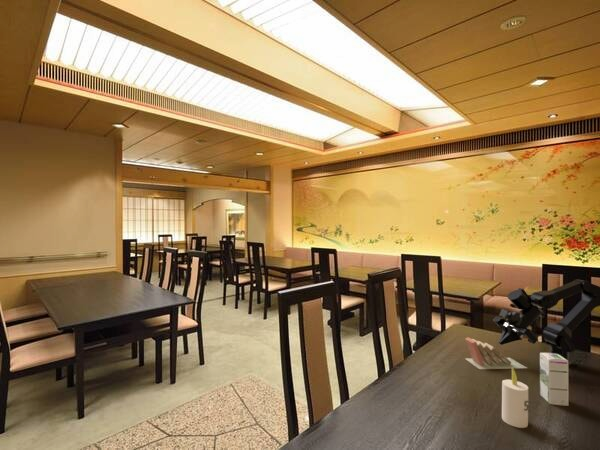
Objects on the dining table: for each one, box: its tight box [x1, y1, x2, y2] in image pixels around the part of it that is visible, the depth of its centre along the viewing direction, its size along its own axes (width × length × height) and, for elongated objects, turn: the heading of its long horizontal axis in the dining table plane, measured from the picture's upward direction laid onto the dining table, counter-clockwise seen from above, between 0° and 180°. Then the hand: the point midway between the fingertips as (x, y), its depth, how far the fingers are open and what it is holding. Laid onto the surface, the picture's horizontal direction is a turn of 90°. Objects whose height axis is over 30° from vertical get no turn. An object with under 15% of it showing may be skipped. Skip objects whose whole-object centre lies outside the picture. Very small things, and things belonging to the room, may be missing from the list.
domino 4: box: [484, 342, 512, 365], centre depth 131 cm, size 2×5×10 cm
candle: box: [501, 368, 530, 429], centre depth 93 cm, size 6×6×15 cm
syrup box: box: [539, 352, 569, 407], centre depth 104 cm, size 6×6×14 cm
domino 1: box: [464, 336, 484, 366], centre depth 131 cm, size 2×5×10 cm, turn 4°
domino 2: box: [471, 338, 493, 366], centre depth 131 cm, size 2×5×10 cm
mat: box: [464, 357, 528, 370], centre depth 131 cm, size 20×10×1 cm, turn 94°
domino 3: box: [477, 340, 502, 366], centre depth 131 cm, size 2×5×10 cm
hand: (499, 343), depth 131 cm, fingers closed
